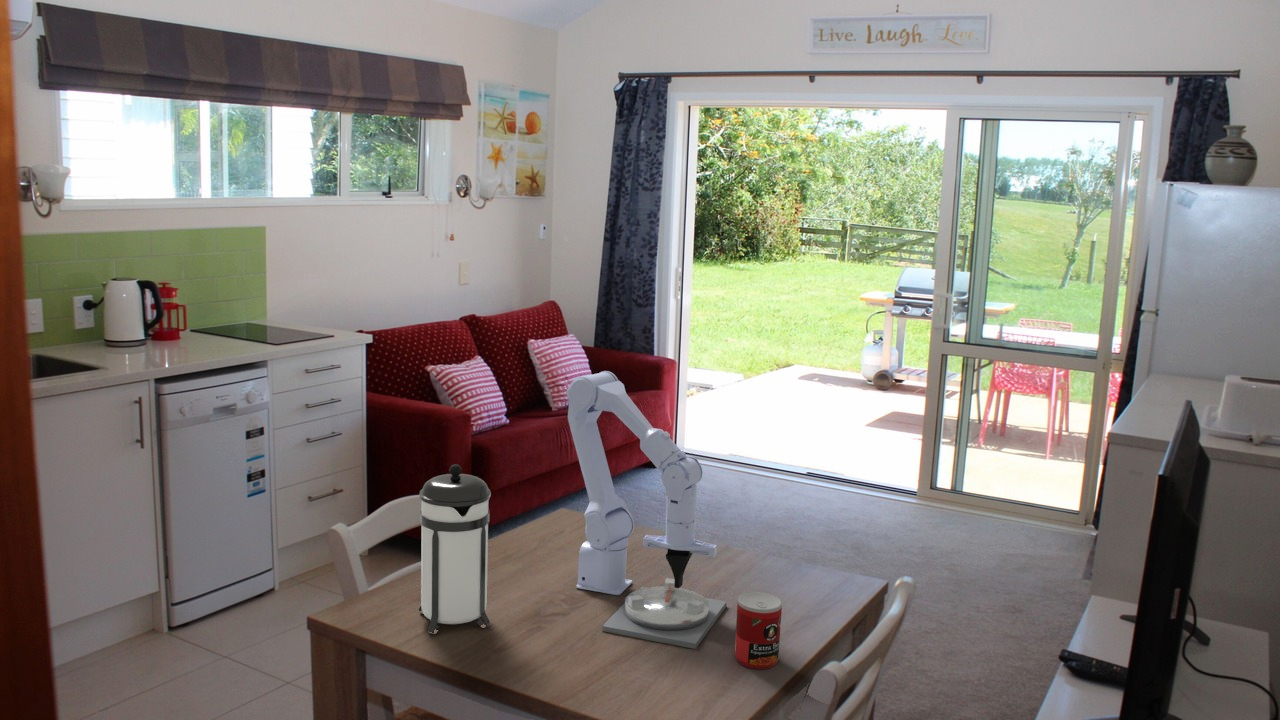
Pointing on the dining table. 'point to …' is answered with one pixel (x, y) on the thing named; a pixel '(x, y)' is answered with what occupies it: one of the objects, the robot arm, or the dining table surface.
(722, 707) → the dining table surface
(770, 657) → the canned food
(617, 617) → the slate base plate
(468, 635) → the dining table surface
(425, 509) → the coffee press
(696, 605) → the round dial
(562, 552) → the dining table surface
